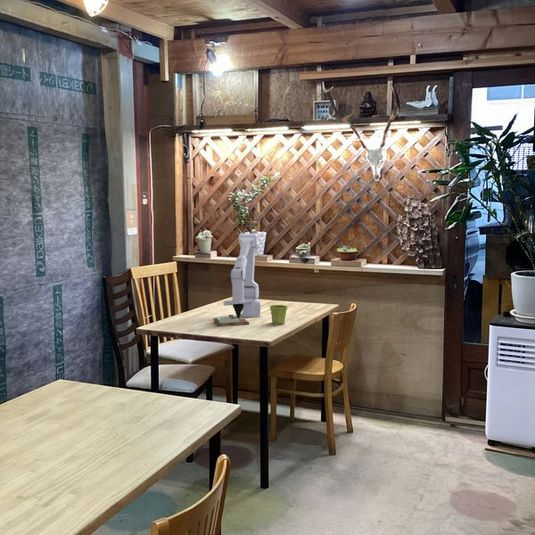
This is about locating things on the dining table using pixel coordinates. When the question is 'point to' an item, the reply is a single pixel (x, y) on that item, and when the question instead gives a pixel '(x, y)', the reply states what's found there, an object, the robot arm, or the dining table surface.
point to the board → (241, 322)
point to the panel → (227, 319)
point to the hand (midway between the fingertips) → (238, 319)
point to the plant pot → (278, 313)
